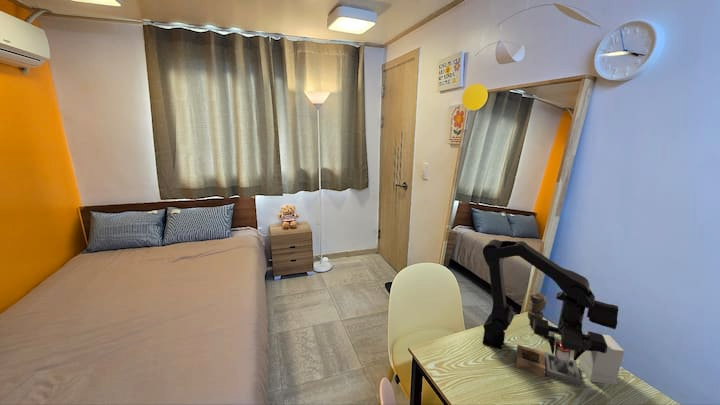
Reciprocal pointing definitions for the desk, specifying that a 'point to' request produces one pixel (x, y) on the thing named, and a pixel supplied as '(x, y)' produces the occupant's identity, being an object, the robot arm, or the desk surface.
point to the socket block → (529, 365)
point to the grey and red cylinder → (561, 358)
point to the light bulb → (536, 307)
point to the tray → (568, 377)
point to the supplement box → (602, 363)
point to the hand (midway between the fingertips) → (563, 356)
